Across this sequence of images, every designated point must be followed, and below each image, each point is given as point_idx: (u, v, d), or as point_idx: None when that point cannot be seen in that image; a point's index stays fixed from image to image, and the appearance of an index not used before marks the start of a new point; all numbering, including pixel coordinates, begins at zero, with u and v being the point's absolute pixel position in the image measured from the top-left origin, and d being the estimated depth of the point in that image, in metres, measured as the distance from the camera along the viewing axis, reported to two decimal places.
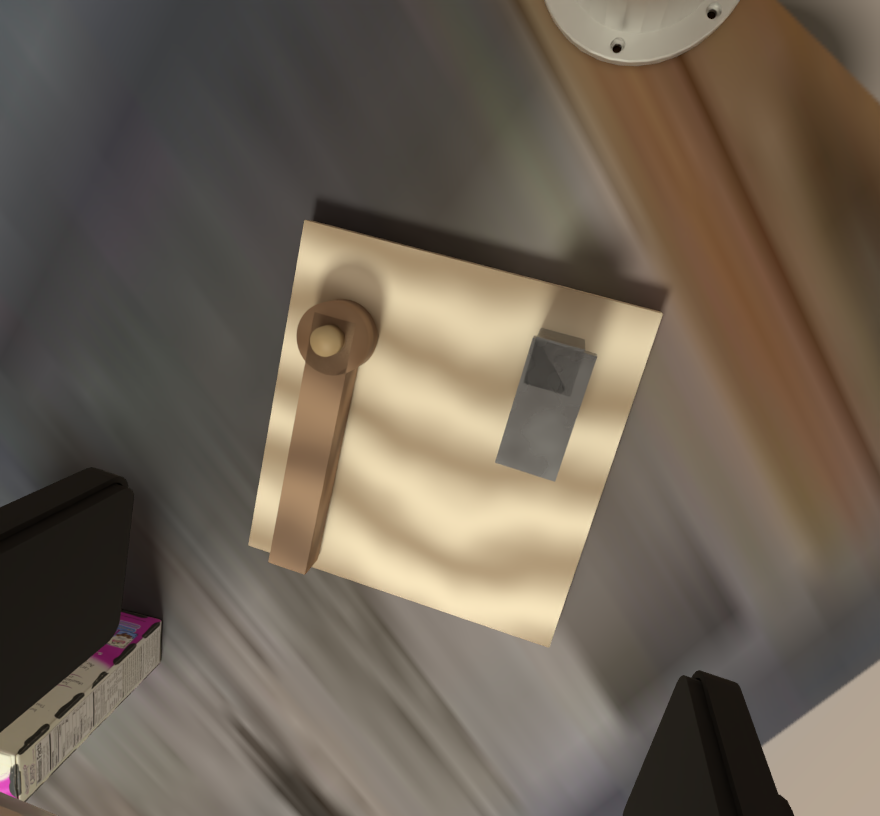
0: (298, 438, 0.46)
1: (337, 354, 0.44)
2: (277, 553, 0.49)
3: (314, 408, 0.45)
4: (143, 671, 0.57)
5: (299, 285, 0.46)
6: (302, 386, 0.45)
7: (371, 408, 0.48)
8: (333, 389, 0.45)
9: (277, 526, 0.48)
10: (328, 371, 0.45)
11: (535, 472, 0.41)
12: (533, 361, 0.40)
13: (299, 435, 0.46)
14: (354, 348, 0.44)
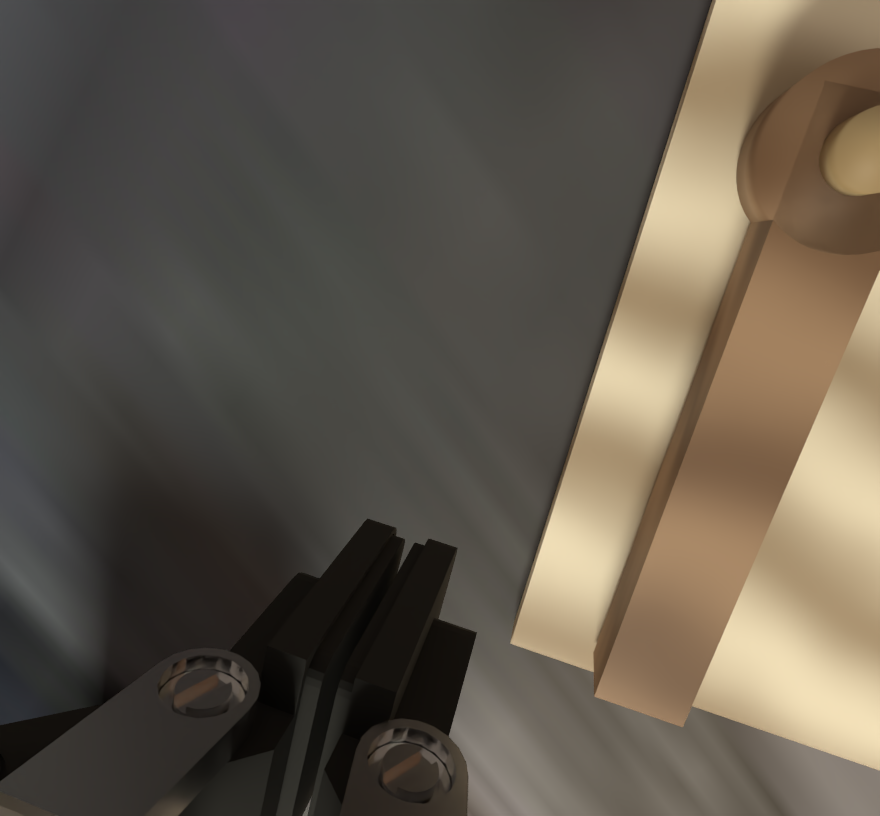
0: (719, 418, 0.19)
1: (874, 196, 0.17)
2: (620, 679, 0.22)
3: (777, 342, 0.18)
4: None
5: (716, 49, 0.19)
6: (753, 286, 0.18)
7: (863, 349, 0.20)
8: (842, 290, 0.18)
9: (628, 620, 0.21)
10: (836, 245, 0.17)
11: None
12: None
13: (723, 410, 0.19)
14: None
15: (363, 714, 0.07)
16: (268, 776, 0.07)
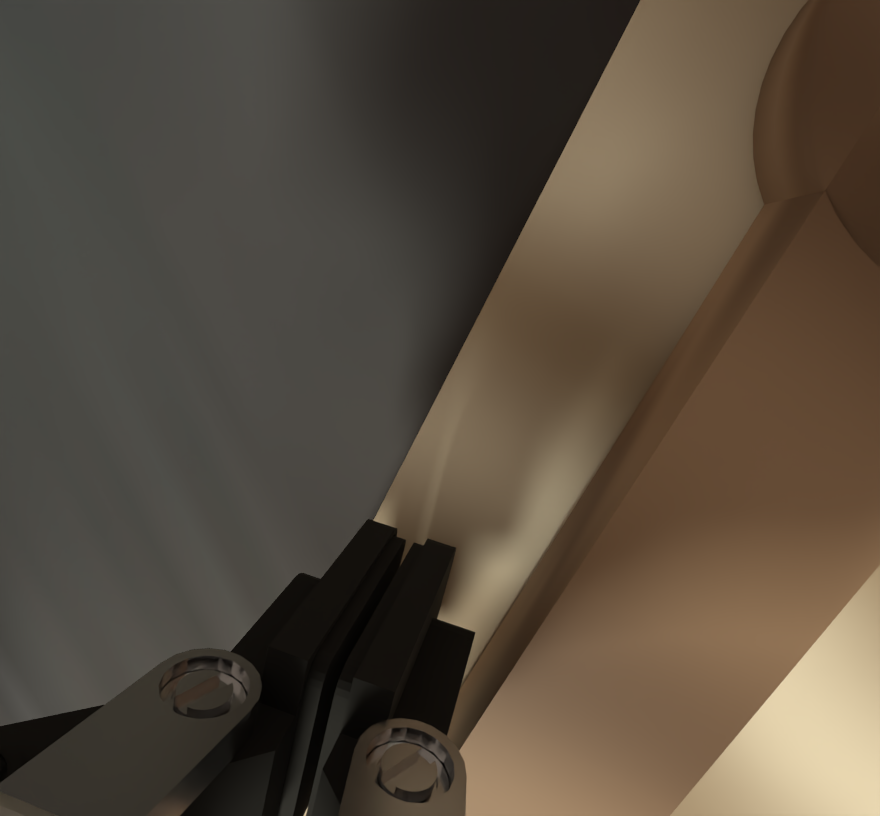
0: (604, 602, 0.09)
1: None
2: None
3: (764, 475, 0.08)
4: None
5: None
6: (740, 340, 0.08)
7: None
8: None
9: None
10: None
11: None
12: None
13: (615, 590, 0.09)
14: None
15: (361, 714, 0.07)
16: (269, 777, 0.07)
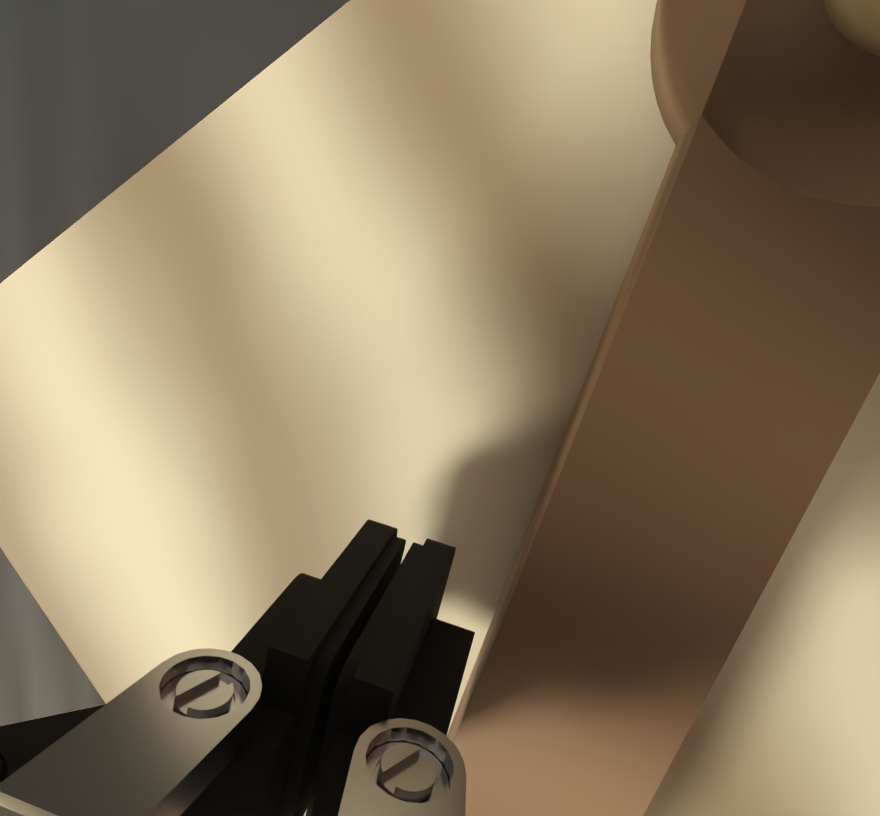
0: (573, 547, 0.09)
1: None
2: None
3: (701, 398, 0.08)
4: None
5: None
6: (651, 271, 0.08)
7: None
8: (854, 292, 0.07)
9: None
10: (848, 182, 0.07)
11: None
12: None
13: (581, 533, 0.09)
14: None
15: (361, 714, 0.07)
16: (269, 777, 0.07)
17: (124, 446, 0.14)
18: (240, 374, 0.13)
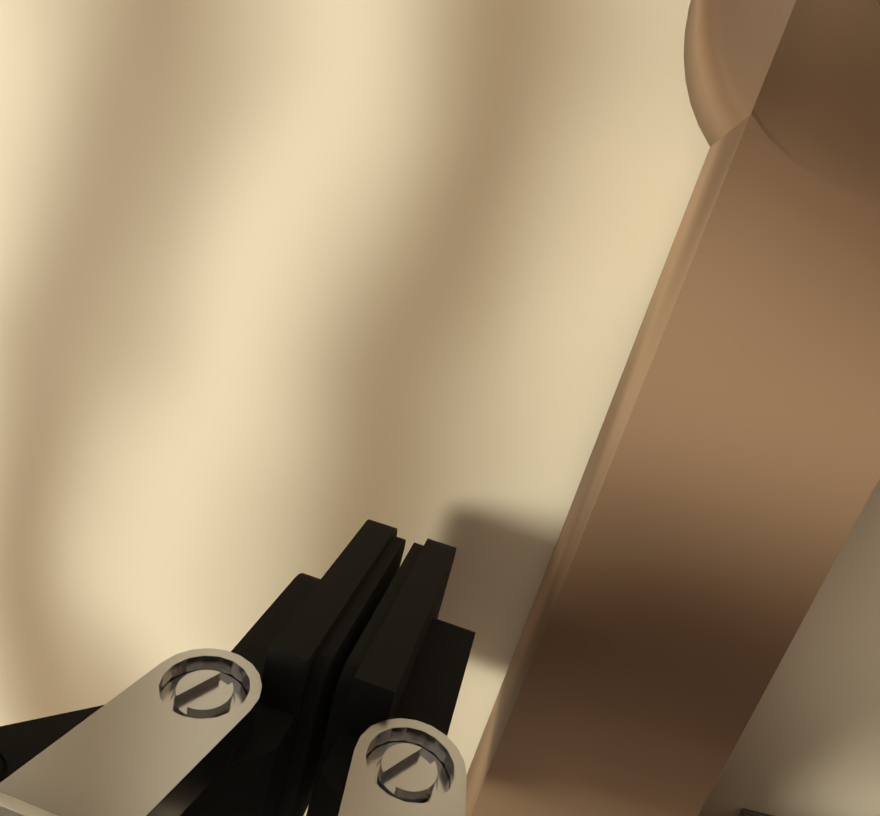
0: (617, 558, 0.09)
1: None
2: None
3: (749, 403, 0.08)
4: None
5: None
6: (698, 274, 0.08)
7: (503, 223, 0.11)
8: None
9: None
10: None
11: None
12: None
13: (625, 543, 0.09)
14: None
15: (362, 714, 0.07)
16: (269, 777, 0.07)
17: None
18: None
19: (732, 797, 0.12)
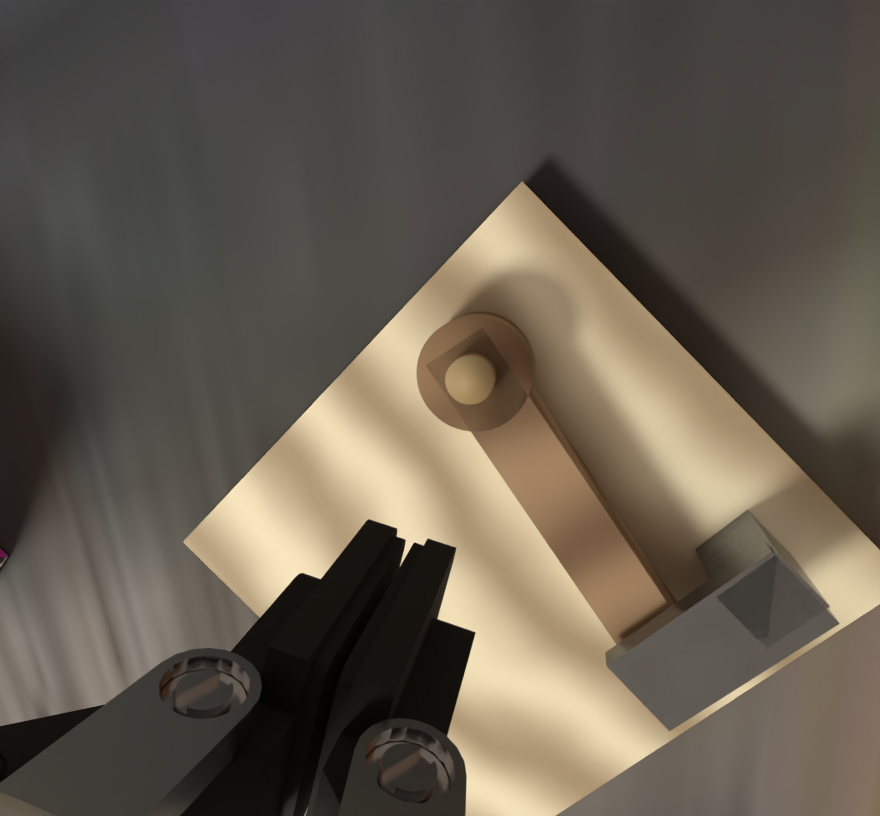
0: (551, 528, 0.29)
1: (497, 384, 0.28)
2: None
3: (533, 474, 0.28)
4: None
5: (457, 264, 0.30)
6: (495, 463, 0.29)
7: (456, 475, 0.32)
8: (532, 429, 0.28)
9: None
10: (507, 415, 0.28)
11: (652, 707, 0.28)
12: (750, 579, 0.26)
13: (549, 524, 0.29)
14: (509, 356, 0.27)
15: (362, 714, 0.07)
16: (269, 777, 0.07)
17: (287, 544, 0.35)
18: (326, 506, 0.34)
19: (689, 548, 0.31)
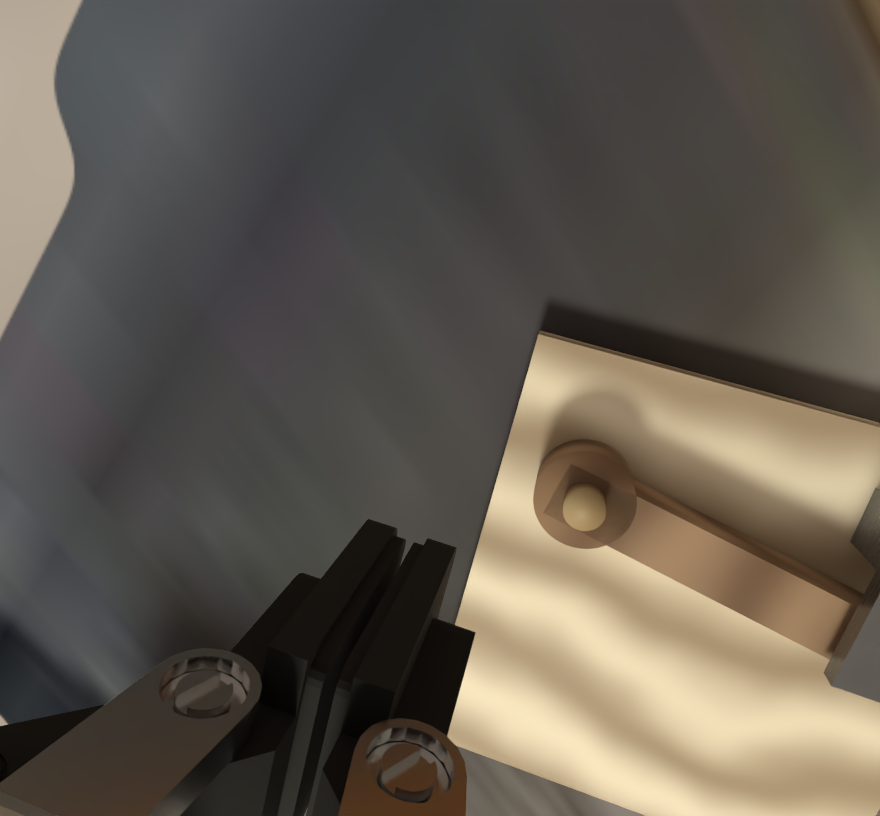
0: (716, 590, 0.32)
1: (607, 499, 0.32)
2: None
3: (676, 553, 0.32)
4: None
5: (523, 418, 0.35)
6: (640, 560, 0.32)
7: (612, 577, 0.36)
8: (654, 519, 0.32)
9: None
10: (628, 519, 0.32)
11: None
12: None
13: (712, 587, 0.32)
14: (604, 474, 0.32)
15: (361, 714, 0.07)
16: (269, 777, 0.07)
17: (506, 697, 0.39)
18: (521, 651, 0.38)
19: (844, 543, 0.33)
